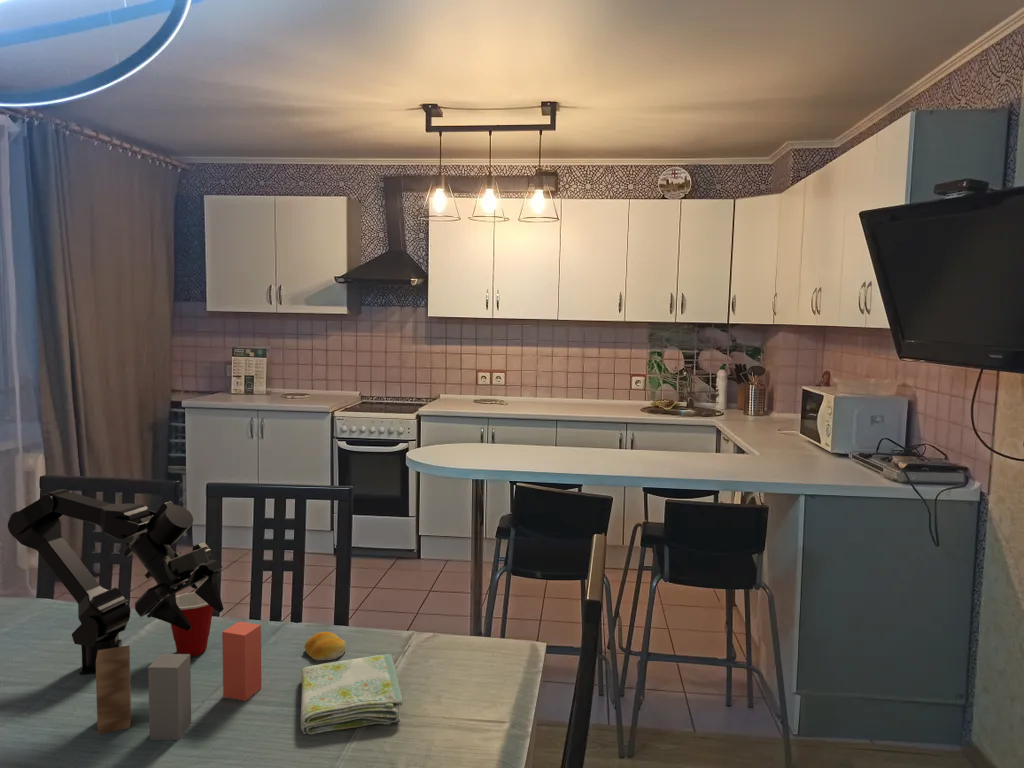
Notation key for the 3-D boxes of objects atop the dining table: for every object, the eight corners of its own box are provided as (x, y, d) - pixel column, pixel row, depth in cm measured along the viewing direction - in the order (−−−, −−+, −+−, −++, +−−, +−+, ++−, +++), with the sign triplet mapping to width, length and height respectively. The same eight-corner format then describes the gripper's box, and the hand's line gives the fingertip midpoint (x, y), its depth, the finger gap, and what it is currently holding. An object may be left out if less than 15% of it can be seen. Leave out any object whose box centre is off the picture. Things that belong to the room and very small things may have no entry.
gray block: (149, 739, 124) (148, 667, 123) (163, 723, 129) (161, 653, 128) (178, 740, 124) (177, 667, 123) (191, 723, 129) (190, 654, 128)
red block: (223, 696, 139) (222, 631, 137) (239, 684, 143) (239, 621, 142) (245, 701, 137) (244, 635, 136) (261, 688, 142) (260, 624, 141)
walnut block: (97, 734, 125) (95, 662, 124) (99, 719, 130) (97, 650, 129) (130, 727, 128) (128, 657, 126) (131, 713, 132) (129, 645, 131)
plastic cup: (214, 636, 164) (213, 585, 163) (222, 655, 155) (222, 601, 154) (161, 646, 159) (160, 593, 158) (167, 667, 150) (166, 611, 149)
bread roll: (318, 666, 152) (318, 648, 152) (300, 650, 159) (299, 633, 158) (353, 655, 157) (353, 637, 157) (334, 640, 164) (334, 623, 164)
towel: (299, 740, 126) (299, 712, 125) (301, 681, 146) (301, 657, 146) (404, 727, 130) (404, 700, 130) (391, 671, 151) (392, 648, 150)
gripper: (146, 547, 132) (197, 614, 130) (214, 521, 150) (260, 579, 148) (112, 584, 135) (162, 649, 133) (183, 553, 153) (228, 611, 151)
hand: (206, 619), depth 141 cm, fingers open, 9 cm apart
